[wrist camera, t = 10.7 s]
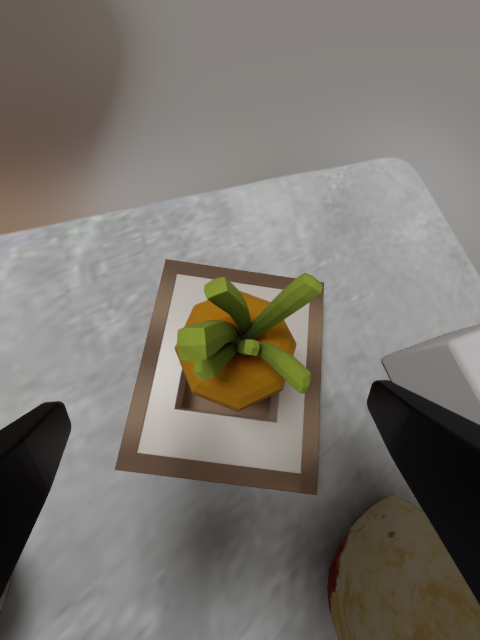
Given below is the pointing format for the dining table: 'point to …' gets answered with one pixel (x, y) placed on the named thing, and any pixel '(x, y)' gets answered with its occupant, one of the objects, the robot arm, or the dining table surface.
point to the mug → (4, 595)
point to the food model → (398, 580)
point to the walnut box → (211, 470)
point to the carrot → (243, 343)
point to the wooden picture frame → (213, 427)
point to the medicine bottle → (442, 371)
